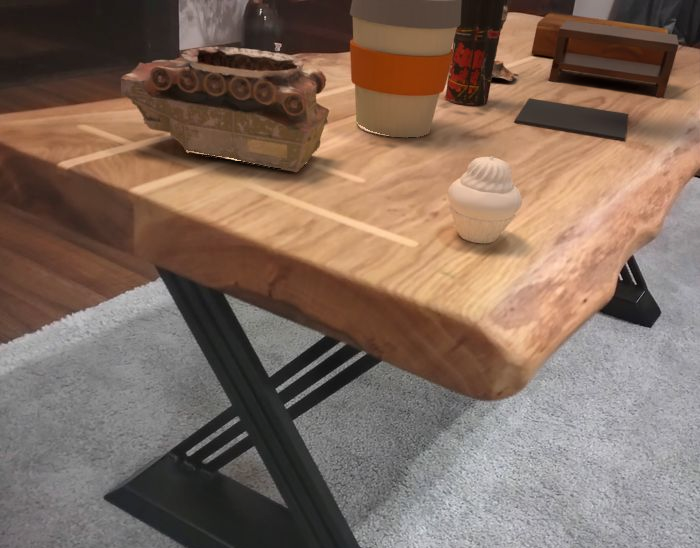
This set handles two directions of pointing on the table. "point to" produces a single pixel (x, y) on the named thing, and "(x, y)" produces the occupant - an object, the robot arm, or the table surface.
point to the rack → (614, 66)
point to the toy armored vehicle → (233, 104)
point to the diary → (553, 22)
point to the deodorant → (474, 52)
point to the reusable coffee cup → (401, 62)
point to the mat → (574, 119)
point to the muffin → (484, 200)
